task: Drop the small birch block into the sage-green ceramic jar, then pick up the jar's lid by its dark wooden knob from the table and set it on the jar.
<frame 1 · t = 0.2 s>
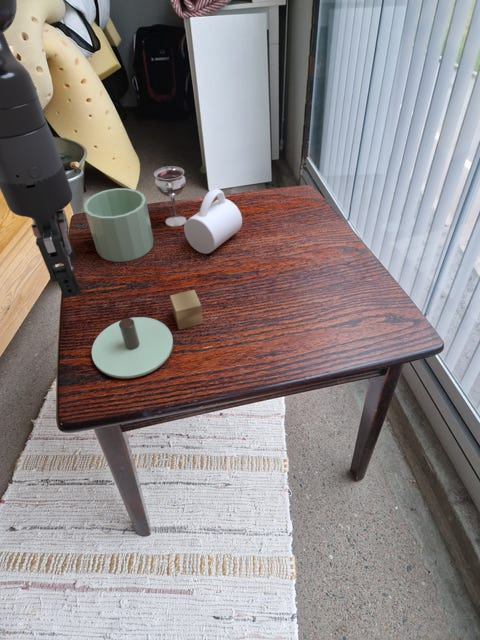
hand: (70, 276, 60), 16 cm above the table, tool pointing down, fingers open, 8 cm apart
lid: (133, 347, 71), point 1 cm above the table
block: (188, 318, 76), on the table
mug: (214, 242, 94), on the table
wineglass: (176, 221, 101), on the table
jar: (125, 245, 94), on the table
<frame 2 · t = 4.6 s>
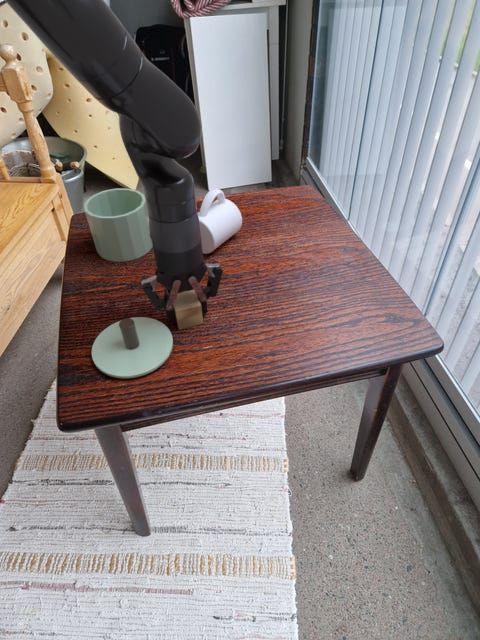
hand: (187, 317, 76), 0 cm above the table, tool pointing down, fingers closed on block, 4 cm apart
block: (187, 318, 76), on the table, touching gripper
everything else where it was.
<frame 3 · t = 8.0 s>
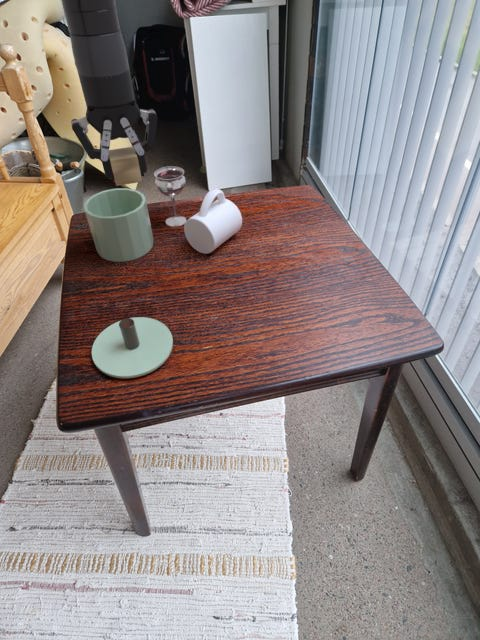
hand: (127, 176, 74), 20 cm above the table, tool pointing down, fingers closed on block, 4 cm apart
block: (127, 178, 74), point 19 cm above the table, touching gripper
everything else where it was.
when the fingers open (10 cm above the table, at t = 11.3 s): block drops 9 cm, resting on jar.
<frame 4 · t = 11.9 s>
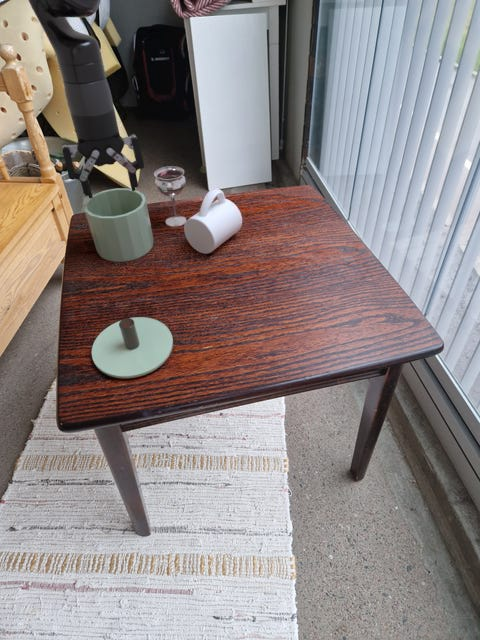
hand: (112, 192, 85), 13 cm above the table, tool pointing down, fingers open, 8 cm apart
block: (125, 243, 93), resting on jar
everything else where it was.
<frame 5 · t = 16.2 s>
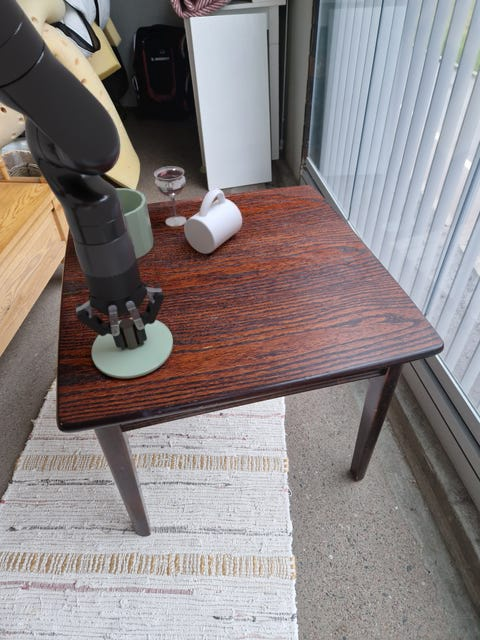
hand: (132, 343, 70), 1 cm above the table, tool pointing down, fingers closed on lid, 2 cm apart
lid: (133, 347, 71), point 1 cm above the table, touching gripper
everything else where it was.
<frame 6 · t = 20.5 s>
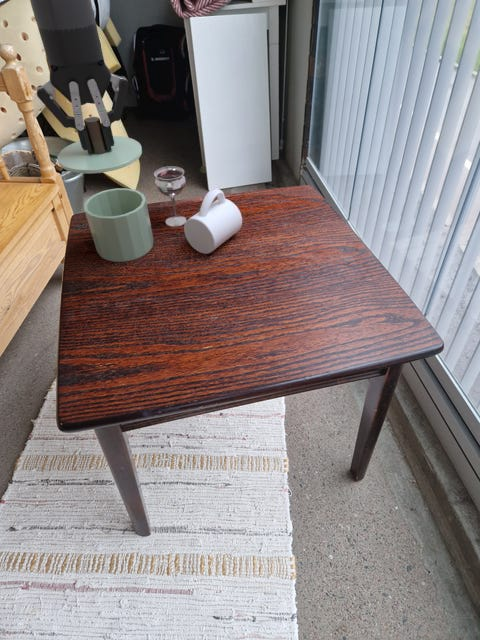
hand: (99, 149, 68), 26 cm above the table, tool pointing down, fingers closed on lid, 2 cm apart
lid: (100, 155, 69), point 25 cm above the table, touching gripper
everything else where it was.
when the fingers open (11 cm above the table, at t = 24.8 s): lid stays where it is, resting on jar.
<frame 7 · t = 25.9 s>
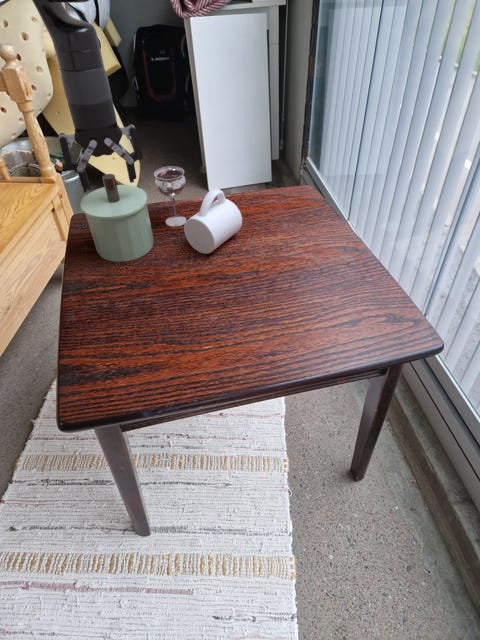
hand: (110, 184, 84), 14 cm above the table, tool pointing down, fingers open, 8 cm apart
lid: (114, 202, 86), point 10 cm above the table, touching jar
everything else where it was.
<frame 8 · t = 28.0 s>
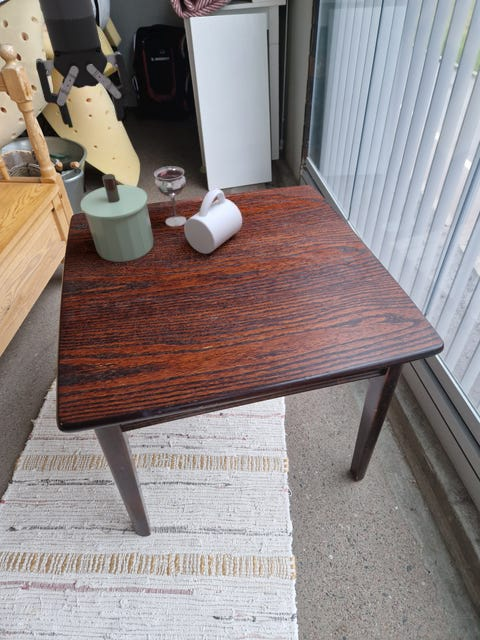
hand: (95, 123, 76), 26 cm above the table, tool pointing down, fingers open, 8 cm apart
nothing on the table moved.
at the end: block inside the target area in the jar (0.0 cm from its centre), point 0.5 cm above the jar's base; lid 0.1 cm off-centre on the jar, point 10.5 cm above the jar's base; lid tilted 0° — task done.
